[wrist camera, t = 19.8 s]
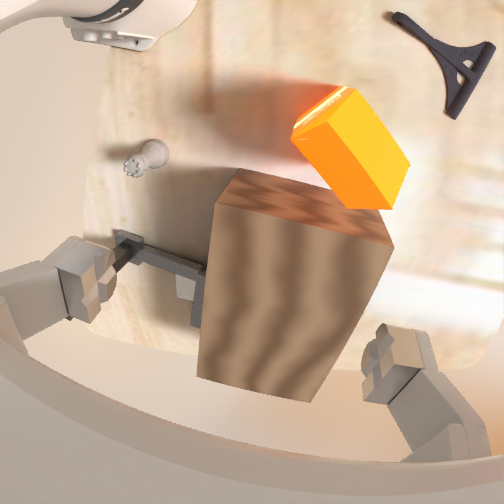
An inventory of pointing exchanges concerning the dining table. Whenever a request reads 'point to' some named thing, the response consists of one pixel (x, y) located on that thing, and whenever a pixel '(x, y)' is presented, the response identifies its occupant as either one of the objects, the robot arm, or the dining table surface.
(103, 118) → the dining table surface
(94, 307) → the robot arm
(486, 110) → the dining table surface
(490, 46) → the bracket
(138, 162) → the rook chess piece
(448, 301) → the dining table surface
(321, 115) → the orange juice
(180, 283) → the block
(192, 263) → the hook tool
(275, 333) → the low cabinet
